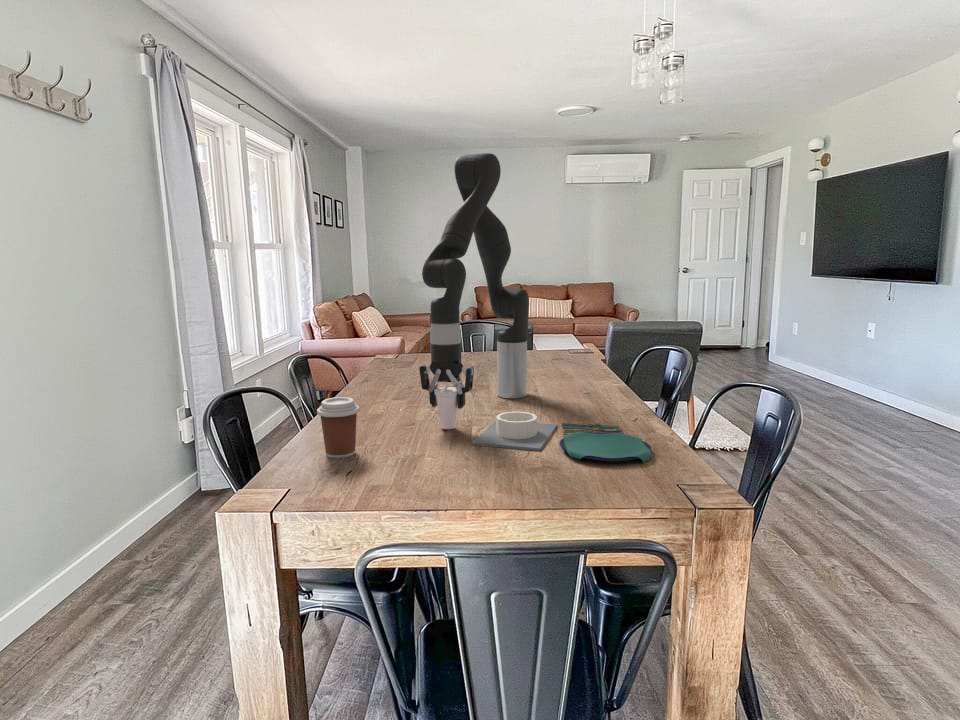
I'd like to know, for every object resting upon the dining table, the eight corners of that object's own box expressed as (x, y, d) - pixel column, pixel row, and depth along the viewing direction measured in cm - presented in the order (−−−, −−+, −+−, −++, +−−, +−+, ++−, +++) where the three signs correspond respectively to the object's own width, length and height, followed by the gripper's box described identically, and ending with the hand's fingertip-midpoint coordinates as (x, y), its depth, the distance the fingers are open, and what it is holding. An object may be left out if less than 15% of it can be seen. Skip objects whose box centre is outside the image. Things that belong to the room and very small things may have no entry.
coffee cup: (344, 444, 135) (341, 394, 133) (370, 452, 129) (367, 399, 127) (310, 454, 128) (307, 401, 126) (336, 463, 122) (333, 408, 120)
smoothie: (430, 428, 145) (428, 373, 143) (443, 422, 151) (442, 369, 148) (452, 432, 142) (451, 376, 140) (465, 425, 148) (464, 371, 145)
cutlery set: (562, 466, 119) (562, 456, 119) (553, 427, 149) (554, 418, 148) (660, 469, 118) (661, 458, 118) (632, 429, 148) (632, 420, 147)
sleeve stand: (496, 421, 152) (496, 404, 152) (557, 426, 147) (557, 409, 147) (472, 444, 134) (471, 425, 133) (540, 451, 129) (540, 431, 128)
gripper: (478, 339, 144) (479, 405, 147) (424, 338, 148) (426, 401, 151) (468, 344, 137) (469, 413, 140) (412, 342, 141) (414, 408, 144)
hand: (447, 406), depth 145 cm, fingers closed on smoothie, 6 cm apart
